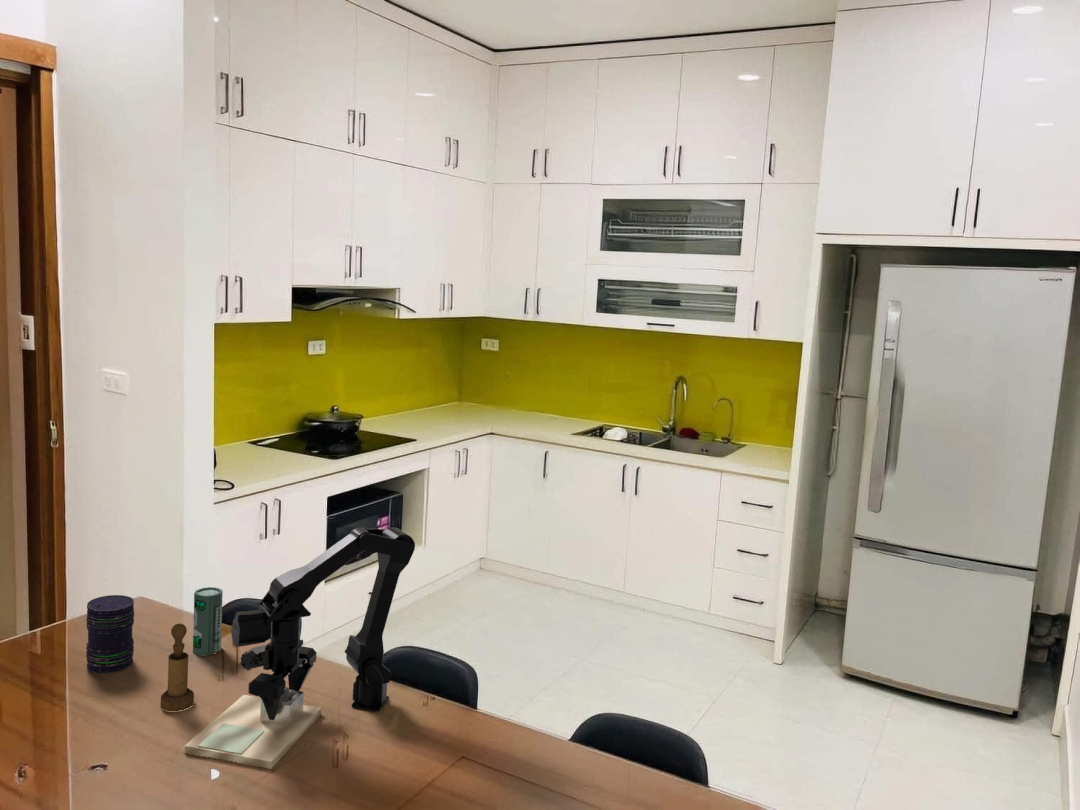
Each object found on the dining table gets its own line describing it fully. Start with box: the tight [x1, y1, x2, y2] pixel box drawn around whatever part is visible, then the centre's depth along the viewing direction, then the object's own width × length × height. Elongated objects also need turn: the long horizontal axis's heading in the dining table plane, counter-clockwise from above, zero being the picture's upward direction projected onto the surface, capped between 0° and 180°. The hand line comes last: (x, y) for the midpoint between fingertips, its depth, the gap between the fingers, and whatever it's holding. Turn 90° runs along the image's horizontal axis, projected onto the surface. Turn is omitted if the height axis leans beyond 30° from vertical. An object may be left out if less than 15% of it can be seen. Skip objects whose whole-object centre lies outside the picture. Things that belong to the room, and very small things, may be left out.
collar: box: [260, 689, 305, 726], centre depth 179 cm, size 6×6×4 cm
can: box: [192, 586, 224, 657], centre depth 210 cm, size 6×6×15 cm
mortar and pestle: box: [160, 623, 195, 711], centre depth 182 cm, size 7×6×18 cm
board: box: [183, 686, 322, 770], centre depth 175 cm, size 18×22×8 cm
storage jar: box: [85, 594, 135, 675], centre depth 199 cm, size 10×10×15 cm
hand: (282, 709), depth 179 cm, fingers open, 9 cm apart
